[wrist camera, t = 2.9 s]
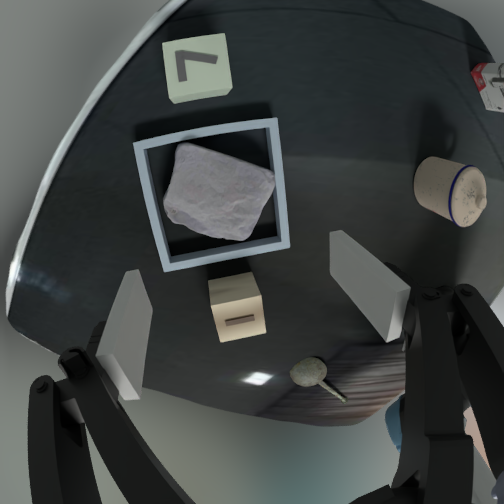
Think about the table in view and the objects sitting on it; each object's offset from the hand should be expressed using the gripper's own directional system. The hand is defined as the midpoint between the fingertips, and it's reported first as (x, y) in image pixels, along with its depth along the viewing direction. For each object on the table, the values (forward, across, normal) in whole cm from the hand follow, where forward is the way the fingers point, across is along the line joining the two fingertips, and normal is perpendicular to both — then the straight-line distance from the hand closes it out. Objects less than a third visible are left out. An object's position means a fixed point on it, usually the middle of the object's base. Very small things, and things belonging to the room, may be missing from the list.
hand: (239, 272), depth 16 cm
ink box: (+20, -51, -16) cm, 57 cm away
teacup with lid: (+20, -35, +2) cm, 40 cm away
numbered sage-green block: (+20, 0, -14) cm, 25 cm away
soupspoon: (+21, -14, +41) cm, 48 cm away
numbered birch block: (+20, 0, +15) cm, 25 cm away
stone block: (+21, 0, 0) cm, 21 cm away
